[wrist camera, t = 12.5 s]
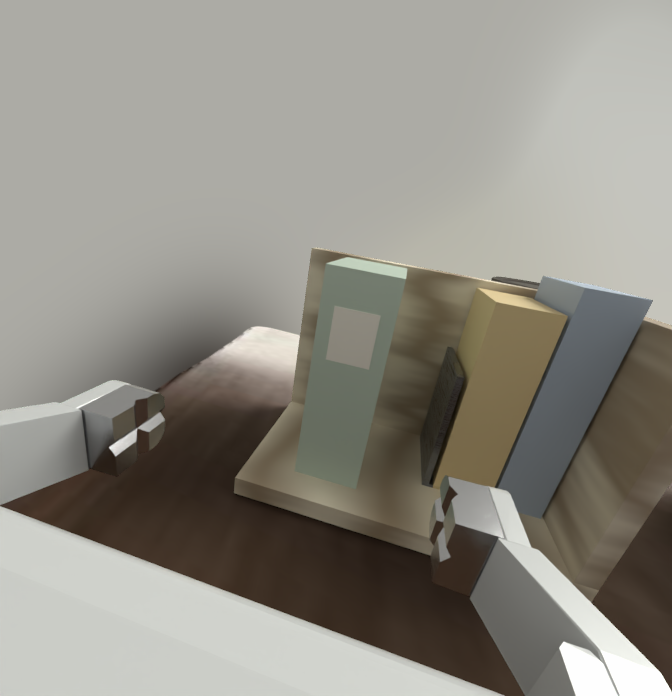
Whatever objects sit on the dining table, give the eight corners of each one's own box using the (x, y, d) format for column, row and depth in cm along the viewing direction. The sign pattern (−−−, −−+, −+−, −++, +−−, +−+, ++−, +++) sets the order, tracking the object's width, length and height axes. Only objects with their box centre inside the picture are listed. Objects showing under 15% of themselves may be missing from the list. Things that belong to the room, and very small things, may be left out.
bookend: (475, 452, 26) (510, 360, 23) (491, 504, 21) (538, 395, 18) (419, 437, 27) (447, 346, 24) (421, 484, 21) (457, 375, 19)
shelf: (521, 467, 27) (597, 300, 22) (588, 605, 17) (756, 354, 12) (294, 406, 30) (316, 247, 25) (234, 493, 20) (251, 253, 15)
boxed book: (367, 434, 26) (407, 268, 21) (355, 489, 20) (406, 279, 16) (319, 421, 26) (347, 256, 22) (294, 471, 21) (325, 263, 16)
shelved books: (514, 462, 25) (593, 285, 21) (540, 518, 20) (653, 300, 15) (428, 439, 26) (483, 265, 22) (432, 487, 21) (506, 273, 16)
